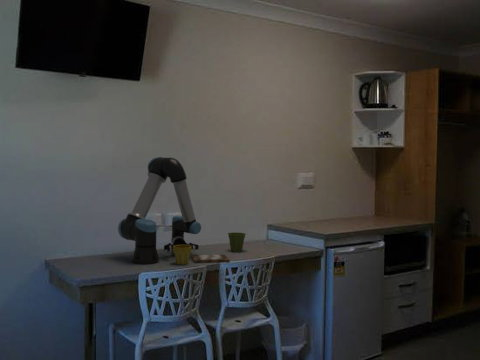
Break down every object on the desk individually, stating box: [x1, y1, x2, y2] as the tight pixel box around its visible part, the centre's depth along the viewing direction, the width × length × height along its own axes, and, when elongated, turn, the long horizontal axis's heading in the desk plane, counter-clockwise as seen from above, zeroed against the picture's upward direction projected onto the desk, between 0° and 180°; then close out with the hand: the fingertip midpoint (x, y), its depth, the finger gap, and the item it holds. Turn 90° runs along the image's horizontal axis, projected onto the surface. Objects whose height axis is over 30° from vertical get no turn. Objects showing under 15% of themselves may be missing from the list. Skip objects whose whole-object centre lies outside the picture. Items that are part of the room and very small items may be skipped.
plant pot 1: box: [172, 245, 193, 265], centre depth 285 cm, size 10×10×10 cm
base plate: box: [191, 254, 231, 264], centre depth 296 cm, size 20×16×2 cm
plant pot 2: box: [227, 231, 247, 253], centre depth 327 cm, size 12×12×11 cm
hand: (182, 249), depth 292 cm, fingers open, 13 cm apart
